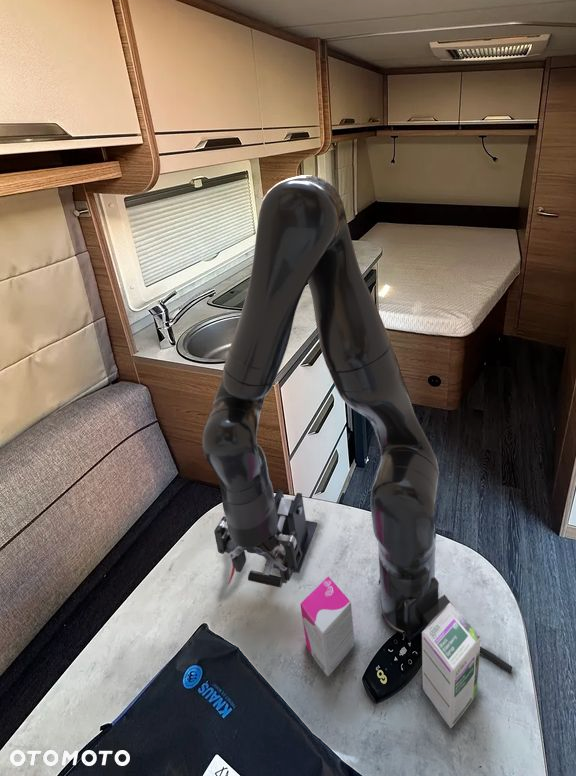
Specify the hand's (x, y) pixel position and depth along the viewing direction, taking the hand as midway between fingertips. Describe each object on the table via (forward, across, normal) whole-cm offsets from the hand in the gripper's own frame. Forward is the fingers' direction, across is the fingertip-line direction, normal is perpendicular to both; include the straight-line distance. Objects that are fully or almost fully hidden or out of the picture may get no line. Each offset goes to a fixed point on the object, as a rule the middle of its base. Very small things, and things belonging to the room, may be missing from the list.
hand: (263, 571), depth 68 cm
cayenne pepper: (+8, +10, -5) cm, 13 cm away
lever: (0, 0, -6) cm, 6 cm away
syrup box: (+8, -32, +6) cm, 33 cm away
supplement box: (+8, -13, +4) cm, 16 cm away
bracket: (+8, 0, -10) cm, 12 cm away
